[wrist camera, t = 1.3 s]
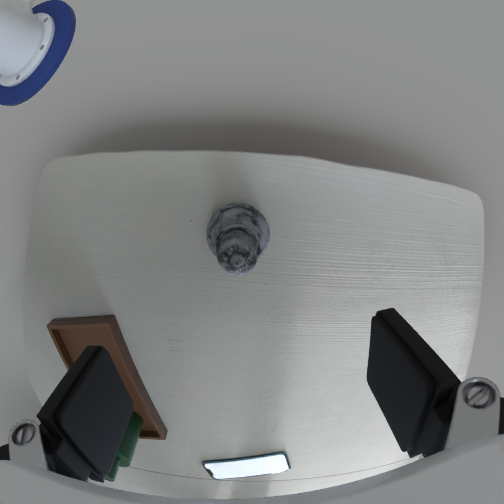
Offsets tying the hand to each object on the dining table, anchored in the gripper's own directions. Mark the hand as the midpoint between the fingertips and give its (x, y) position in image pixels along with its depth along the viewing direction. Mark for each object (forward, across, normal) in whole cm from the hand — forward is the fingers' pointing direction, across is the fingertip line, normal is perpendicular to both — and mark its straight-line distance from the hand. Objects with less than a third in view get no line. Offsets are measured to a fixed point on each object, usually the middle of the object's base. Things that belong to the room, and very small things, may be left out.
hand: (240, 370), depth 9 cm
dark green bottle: (+22, +23, +27) cm, 42 cm away
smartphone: (+23, +6, +45) cm, 50 cm away
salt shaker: (+22, 0, 0) cm, 22 cm away
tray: (+22, +23, +20) cm, 38 cm away
